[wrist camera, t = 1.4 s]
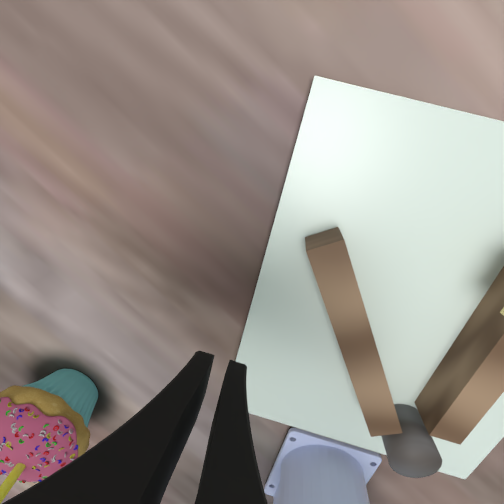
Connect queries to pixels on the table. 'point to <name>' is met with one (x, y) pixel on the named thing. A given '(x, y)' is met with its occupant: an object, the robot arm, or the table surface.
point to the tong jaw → (352, 329)
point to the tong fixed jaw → (453, 391)
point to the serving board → (378, 259)
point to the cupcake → (44, 426)
